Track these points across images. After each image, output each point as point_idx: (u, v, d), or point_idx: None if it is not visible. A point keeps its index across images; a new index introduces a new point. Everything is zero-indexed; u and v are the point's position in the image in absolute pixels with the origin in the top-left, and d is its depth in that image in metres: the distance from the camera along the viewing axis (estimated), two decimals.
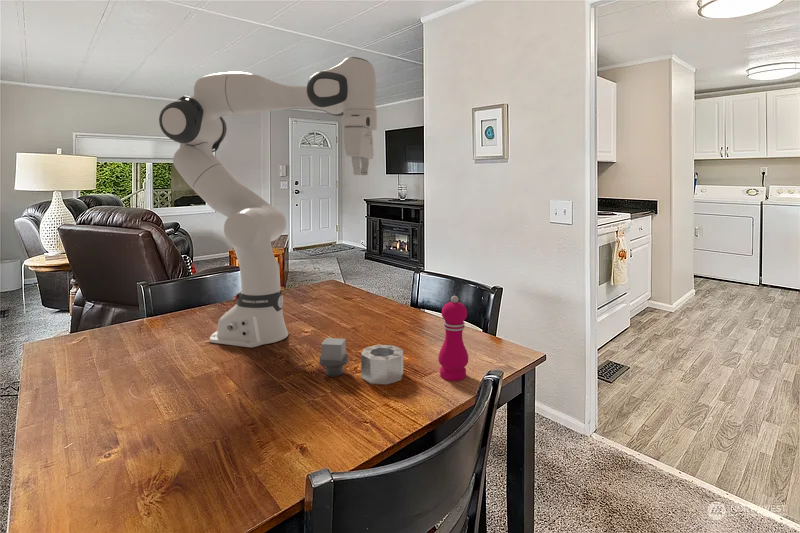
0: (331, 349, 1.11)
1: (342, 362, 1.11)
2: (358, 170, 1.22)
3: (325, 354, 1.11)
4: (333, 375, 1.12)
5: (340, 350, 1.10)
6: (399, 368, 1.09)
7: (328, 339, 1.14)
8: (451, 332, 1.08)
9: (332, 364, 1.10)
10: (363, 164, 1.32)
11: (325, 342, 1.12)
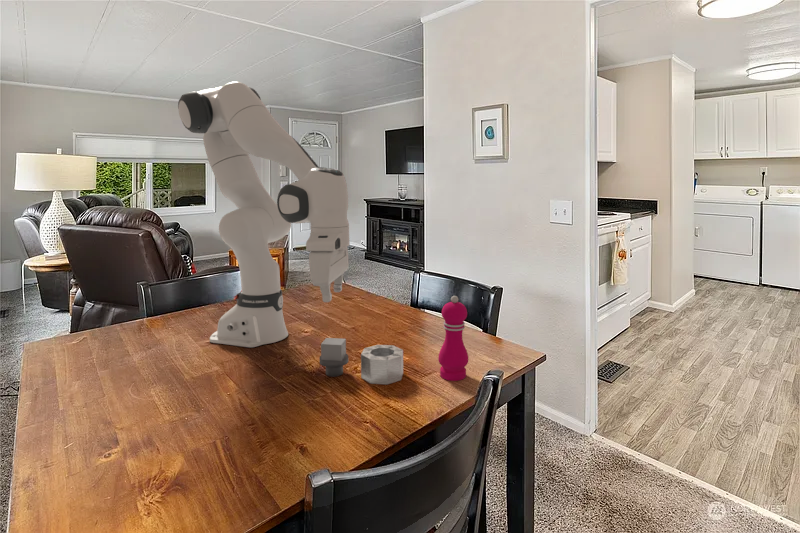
0: (331, 349, 1.11)
1: (342, 362, 1.11)
2: (328, 297, 1.05)
3: (325, 354, 1.11)
4: (333, 375, 1.12)
5: (340, 350, 1.10)
6: (399, 368, 1.09)
7: (328, 339, 1.14)
8: (451, 332, 1.08)
9: (332, 364, 1.10)
10: (336, 279, 1.15)
11: (325, 342, 1.12)
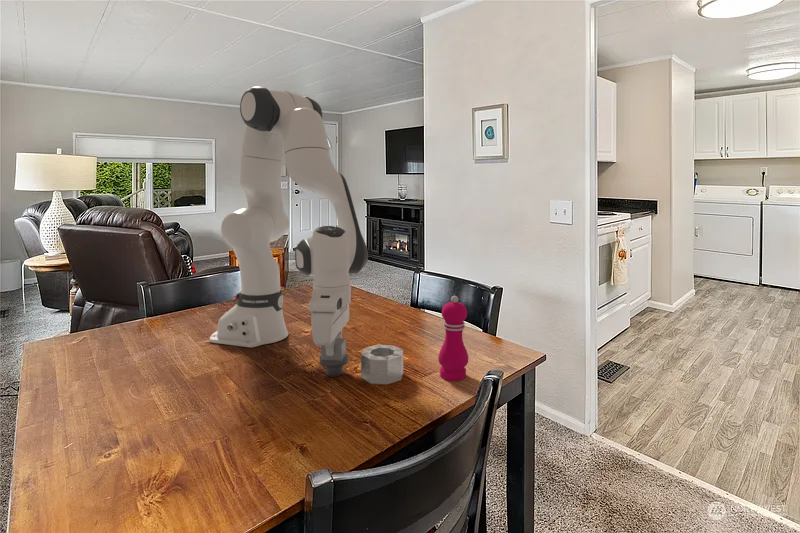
0: None
1: (342, 362, 1.11)
2: (331, 351, 1.09)
3: (325, 354, 1.11)
4: (333, 375, 1.12)
5: (340, 350, 1.10)
6: (399, 368, 1.09)
7: None
8: (451, 332, 1.08)
9: (332, 364, 1.10)
10: None
11: None
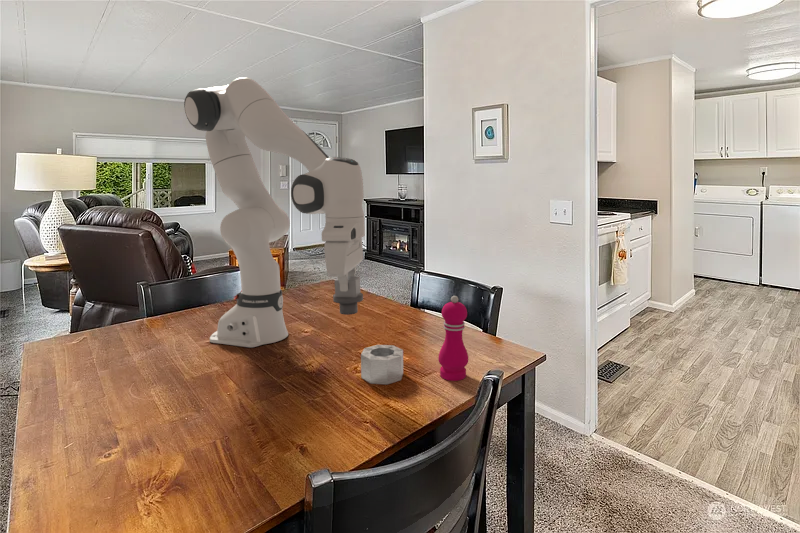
0: None
1: (357, 299, 1.07)
2: (345, 286, 1.05)
3: (339, 291, 1.07)
4: (347, 313, 1.08)
5: (354, 286, 1.07)
6: (399, 368, 1.09)
7: None
8: (451, 332, 1.08)
9: (346, 300, 1.06)
10: (349, 272, 1.12)
11: None
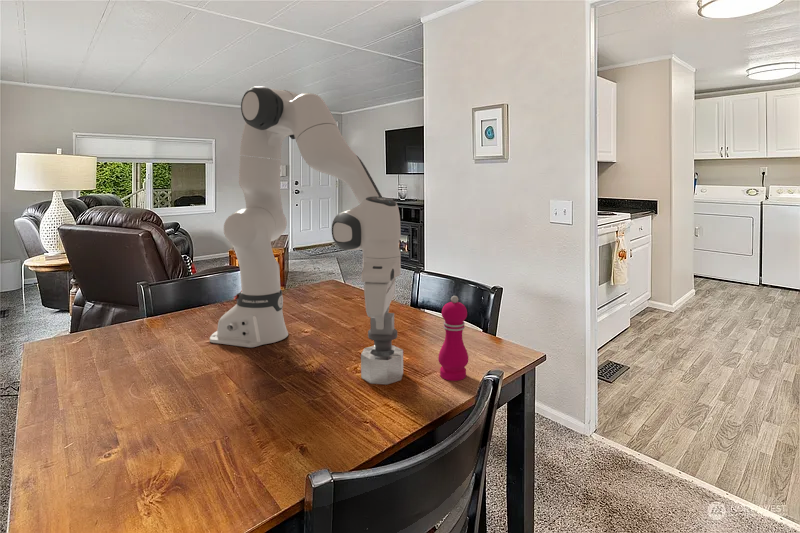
0: None
1: (392, 336, 1.08)
2: (381, 324, 1.06)
3: (375, 328, 1.08)
4: (382, 350, 1.09)
5: (390, 324, 1.08)
6: (399, 368, 1.09)
7: None
8: (451, 332, 1.08)
9: (382, 338, 1.07)
10: None
11: None
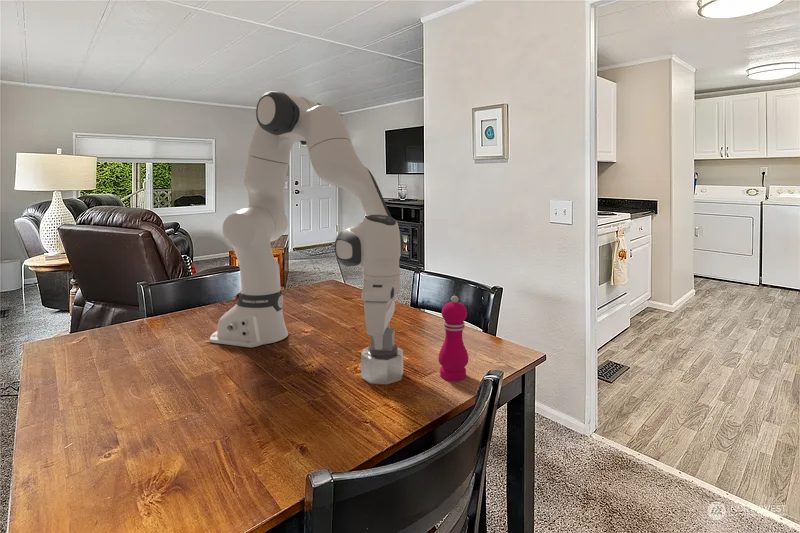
0: None
1: (392, 352, 1.09)
2: (380, 344, 1.05)
3: None
4: None
5: (391, 340, 1.08)
6: (399, 368, 1.09)
7: None
8: (451, 332, 1.08)
9: (383, 354, 1.08)
10: None
11: None
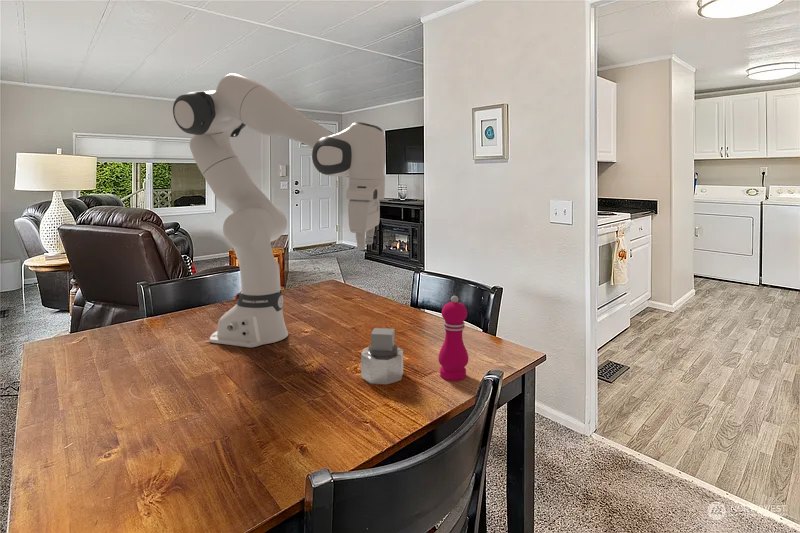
0: (381, 339, 1.09)
1: (392, 352, 1.09)
2: (362, 245, 1.11)
3: (375, 344, 1.09)
4: None
5: (391, 340, 1.08)
6: (399, 368, 1.09)
7: (377, 329, 1.12)
8: (451, 332, 1.08)
9: (383, 354, 1.08)
10: (368, 232, 1.22)
11: (375, 332, 1.10)
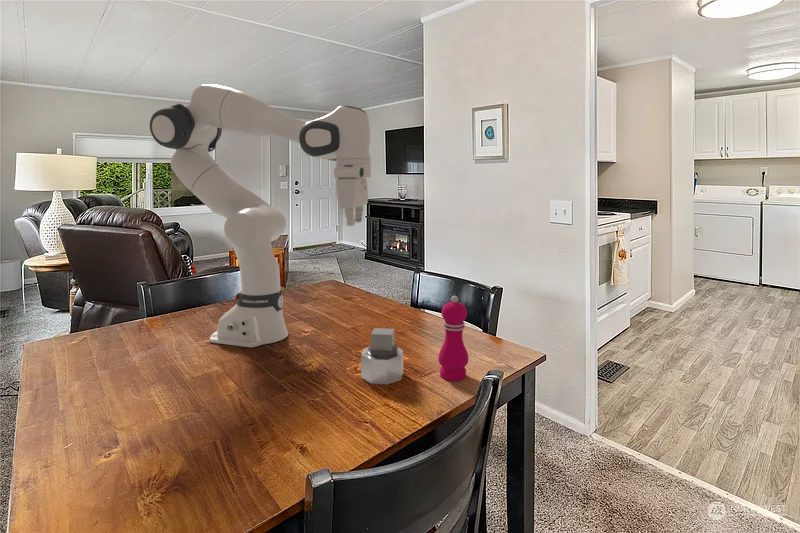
0: (381, 339, 1.09)
1: (392, 352, 1.09)
2: (351, 221, 1.18)
3: (375, 344, 1.09)
4: None
5: (391, 340, 1.08)
6: (399, 368, 1.09)
7: (377, 329, 1.12)
8: (451, 332, 1.08)
9: (383, 354, 1.08)
10: (357, 211, 1.29)
11: (375, 332, 1.10)
